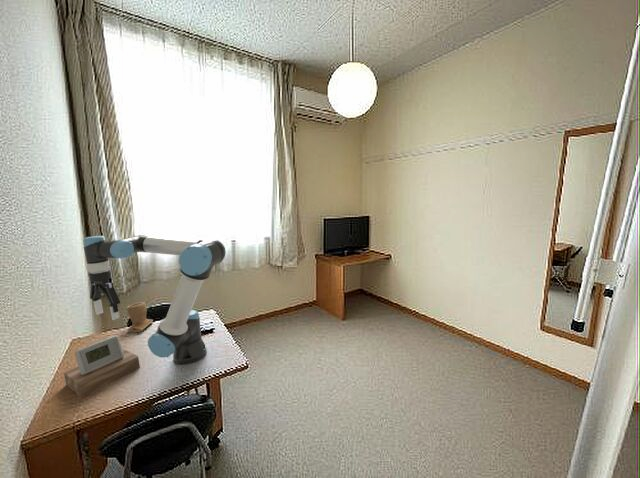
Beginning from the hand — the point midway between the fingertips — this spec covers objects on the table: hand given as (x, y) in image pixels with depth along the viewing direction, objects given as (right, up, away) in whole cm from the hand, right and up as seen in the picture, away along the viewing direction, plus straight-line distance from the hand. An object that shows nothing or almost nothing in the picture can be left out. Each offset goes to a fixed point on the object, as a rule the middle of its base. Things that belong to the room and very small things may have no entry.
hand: (107, 316), depth 127 cm
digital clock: (0, -21, -3) cm, 21 cm away
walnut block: (-1, -27, -1) cm, 27 cm away
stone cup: (-14, -19, +45) cm, 51 cm away
